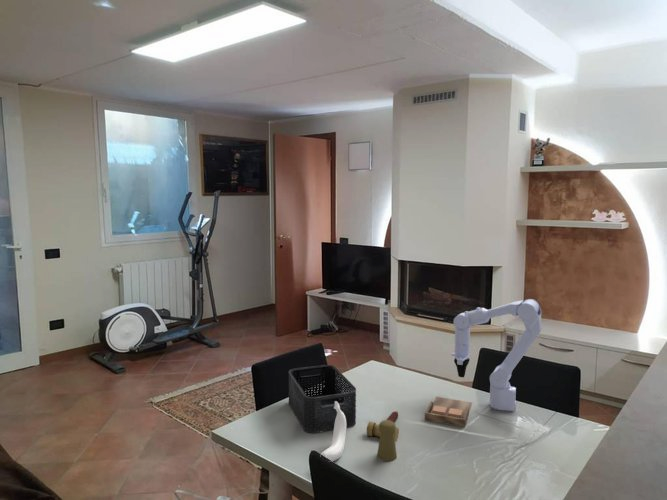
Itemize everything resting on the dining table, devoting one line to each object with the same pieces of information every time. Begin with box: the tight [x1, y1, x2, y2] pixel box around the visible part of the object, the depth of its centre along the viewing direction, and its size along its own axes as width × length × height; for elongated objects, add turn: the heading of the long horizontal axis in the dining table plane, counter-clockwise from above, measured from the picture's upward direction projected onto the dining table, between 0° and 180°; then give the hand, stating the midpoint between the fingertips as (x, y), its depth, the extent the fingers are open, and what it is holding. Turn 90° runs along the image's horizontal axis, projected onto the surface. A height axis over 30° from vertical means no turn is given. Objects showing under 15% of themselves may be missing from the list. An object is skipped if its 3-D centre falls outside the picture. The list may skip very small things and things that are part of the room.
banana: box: [320, 401, 347, 462], centre depth 144 cm, size 5×19×15 cm, turn 167°
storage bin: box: [288, 364, 357, 434], centre depth 174 cm, size 29×19×13 cm
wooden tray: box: [424, 396, 473, 428], centre depth 174 cm, size 14×22×3 cm, turn 157°
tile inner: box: [448, 408, 463, 418], centre depth 168 cm, size 4×4×2 cm
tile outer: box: [432, 406, 447, 416], centre depth 170 cm, size 4×4×2 cm
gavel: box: [366, 411, 400, 442], centre depth 164 cm, size 21×5×10 cm
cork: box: [376, 419, 398, 462], centre depth 144 cm, size 6×6×11 cm
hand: (461, 376), depth 186 cm, fingers closed
